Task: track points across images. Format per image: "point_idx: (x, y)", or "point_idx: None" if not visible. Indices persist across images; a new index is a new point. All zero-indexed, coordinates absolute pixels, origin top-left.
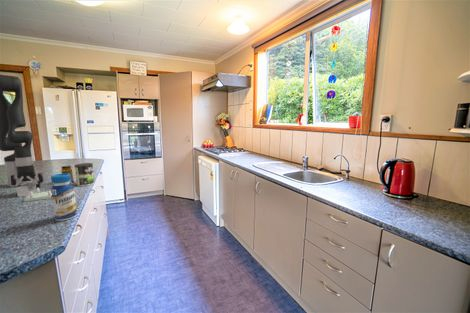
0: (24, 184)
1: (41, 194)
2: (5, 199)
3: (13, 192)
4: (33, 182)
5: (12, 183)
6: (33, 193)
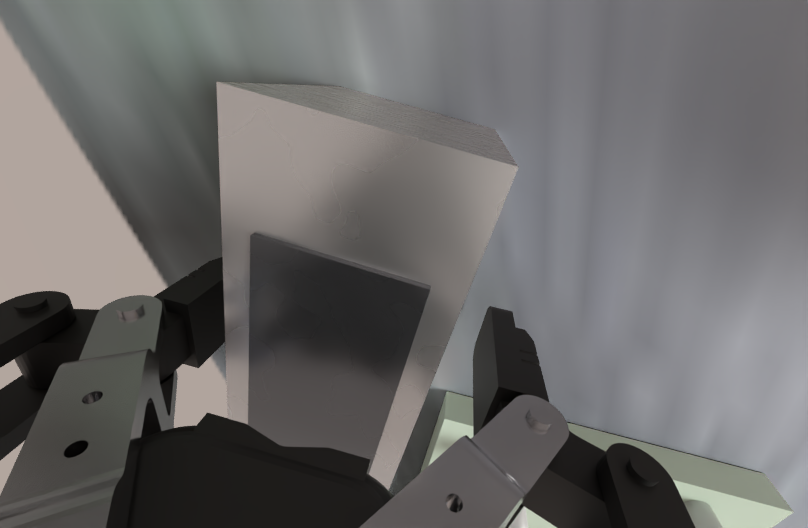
0: (270, 396)
1: (536, 522)
2: (225, 370)
3: (118, 58)
4: (405, 320)
5: (41, 400)
6: (452, 444)
